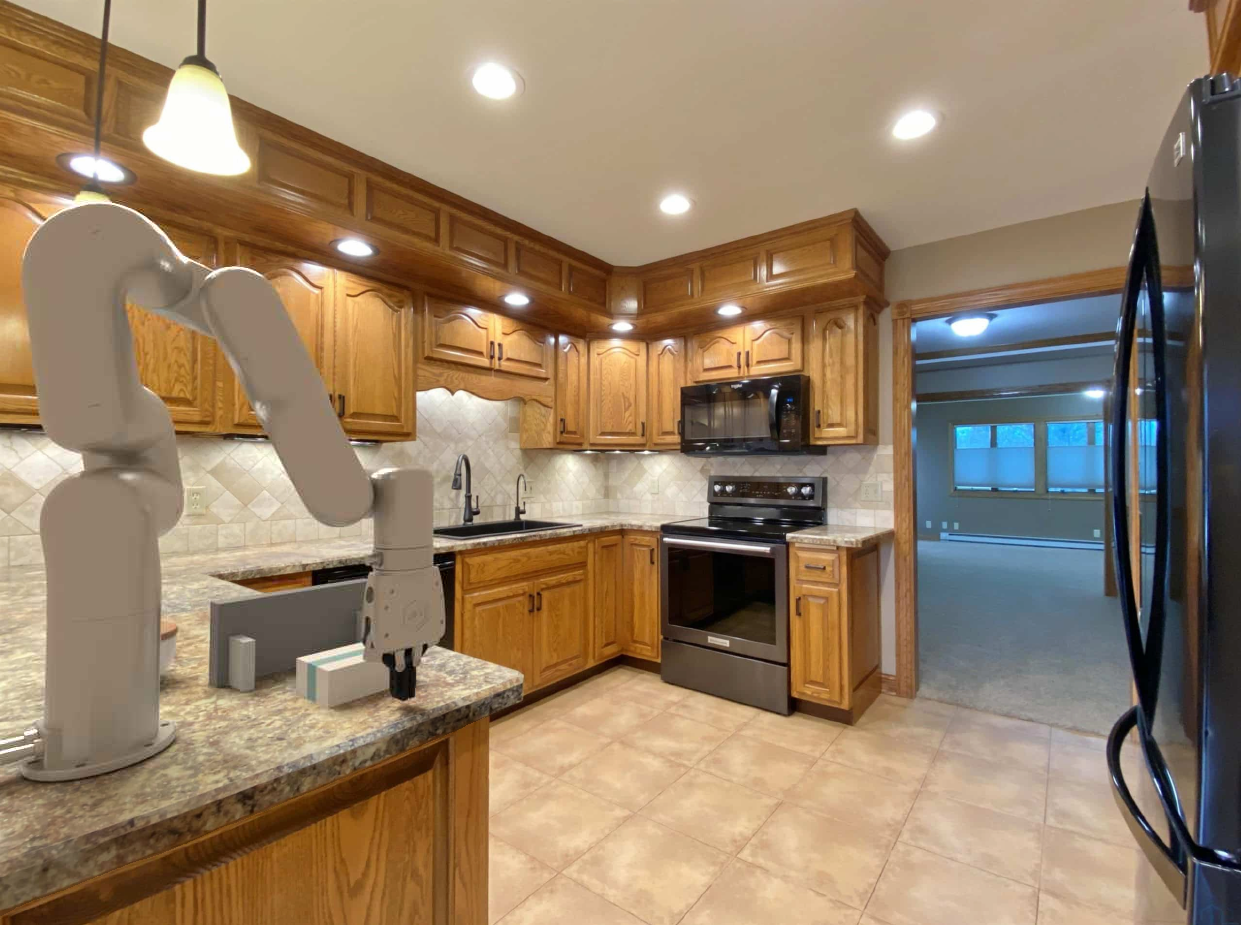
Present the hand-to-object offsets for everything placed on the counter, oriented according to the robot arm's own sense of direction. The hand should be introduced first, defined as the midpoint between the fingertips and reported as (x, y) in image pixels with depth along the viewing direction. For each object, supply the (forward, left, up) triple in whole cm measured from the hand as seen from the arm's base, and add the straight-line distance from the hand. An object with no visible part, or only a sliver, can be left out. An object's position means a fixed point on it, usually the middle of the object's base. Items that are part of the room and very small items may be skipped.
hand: (402, 696), depth 76 cm
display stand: (0, +27, -1) cm, 27 cm away
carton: (0, +12, -2) cm, 12 cm away
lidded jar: (-19, +39, -2) cm, 44 cm away
